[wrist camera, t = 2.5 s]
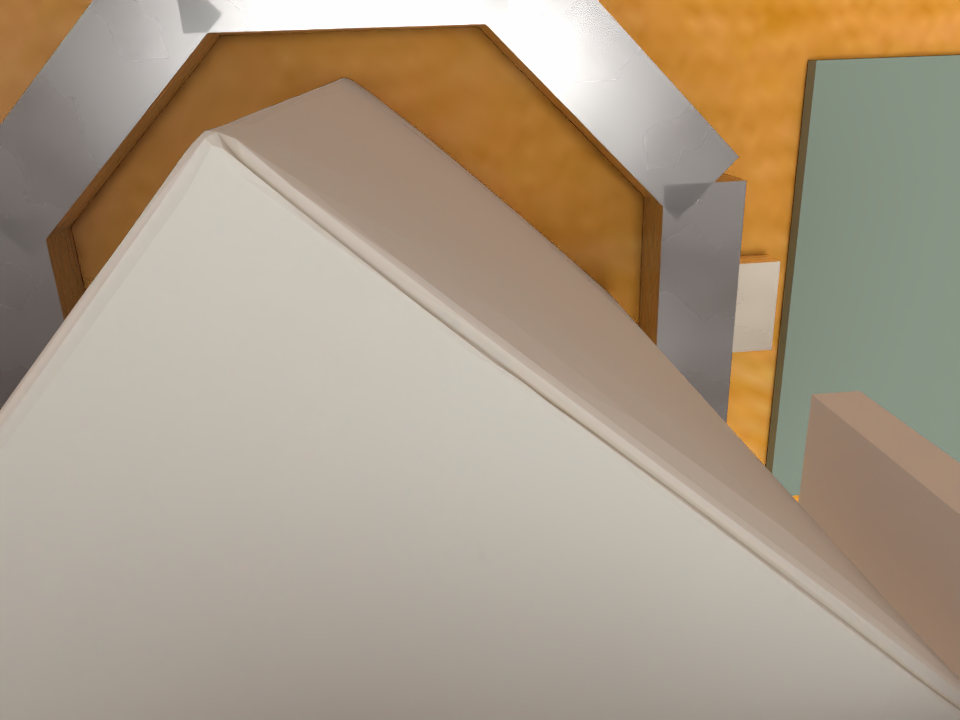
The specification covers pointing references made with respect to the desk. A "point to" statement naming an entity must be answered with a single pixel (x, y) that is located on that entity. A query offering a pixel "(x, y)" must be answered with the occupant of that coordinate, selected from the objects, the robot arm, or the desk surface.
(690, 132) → the socket collar
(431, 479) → the supplement box
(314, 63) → the desk surface
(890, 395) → the felt pad
